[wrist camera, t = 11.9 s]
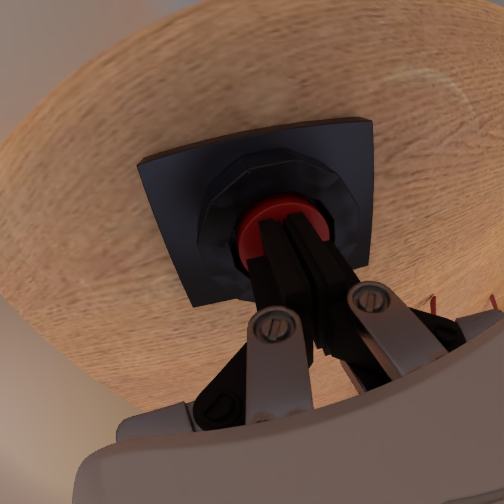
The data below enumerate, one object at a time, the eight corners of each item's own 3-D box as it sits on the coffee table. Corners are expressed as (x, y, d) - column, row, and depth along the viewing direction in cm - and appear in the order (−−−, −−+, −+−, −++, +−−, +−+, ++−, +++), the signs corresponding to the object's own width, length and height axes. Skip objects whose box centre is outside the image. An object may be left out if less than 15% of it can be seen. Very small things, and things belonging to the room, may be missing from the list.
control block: (193, 293, 15) (192, 333, 13) (142, 157, 11) (123, 179, 8) (359, 253, 15) (383, 286, 13) (359, 116, 11) (396, 128, 8)
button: (243, 266, 13) (248, 291, 11) (226, 196, 11) (229, 215, 9) (317, 249, 13) (330, 271, 11) (312, 178, 11) (328, 194, 9)
